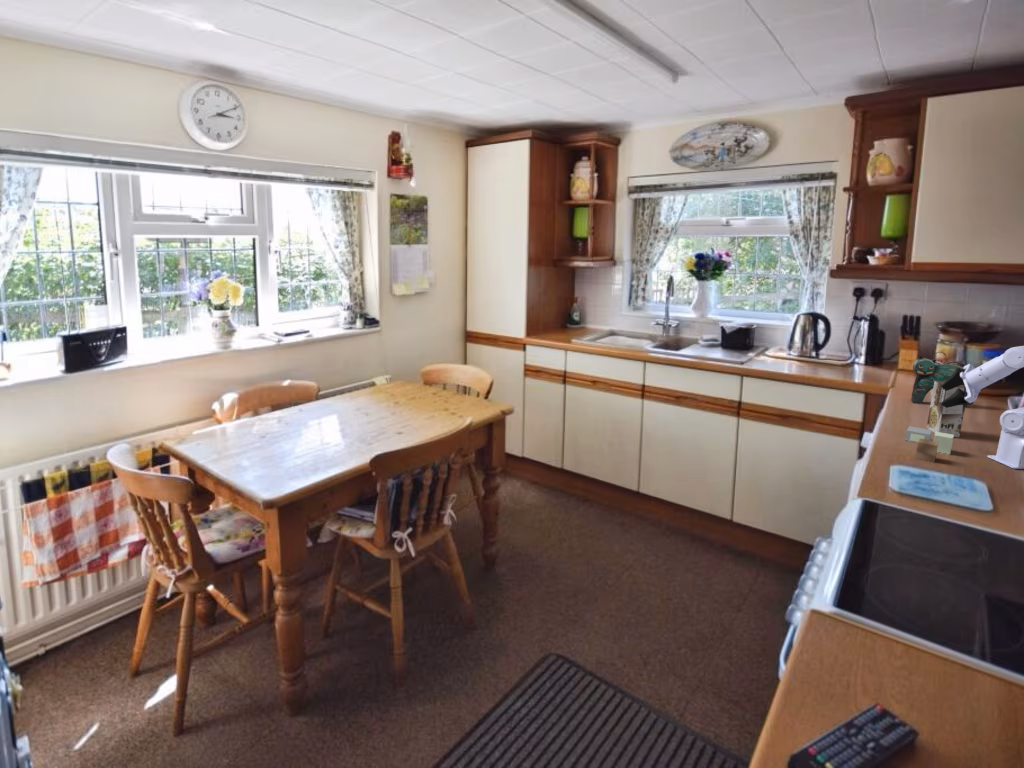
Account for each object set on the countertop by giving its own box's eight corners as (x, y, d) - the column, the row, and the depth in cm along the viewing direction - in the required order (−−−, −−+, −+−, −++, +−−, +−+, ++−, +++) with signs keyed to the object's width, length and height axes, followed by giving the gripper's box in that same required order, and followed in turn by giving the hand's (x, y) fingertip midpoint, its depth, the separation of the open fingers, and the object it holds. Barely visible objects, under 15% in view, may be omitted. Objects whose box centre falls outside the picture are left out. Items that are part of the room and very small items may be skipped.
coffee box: (960, 437, 198) (970, 387, 195) (937, 436, 200) (946, 386, 196) (947, 429, 207) (956, 381, 203) (925, 427, 208) (934, 379, 205)
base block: (930, 441, 195) (932, 430, 195) (927, 445, 191) (929, 434, 190) (907, 436, 199) (909, 426, 198) (904, 441, 194) (906, 430, 193)
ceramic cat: (909, 403, 239) (918, 351, 234) (904, 399, 245) (913, 348, 240) (970, 408, 233) (981, 355, 229) (964, 404, 239) (974, 352, 235)
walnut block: (935, 458, 179) (938, 441, 178) (934, 462, 176) (937, 445, 174) (916, 455, 182) (919, 438, 181) (915, 459, 178) (918, 442, 177)
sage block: (950, 450, 186) (953, 434, 185) (949, 454, 182) (953, 438, 181) (932, 447, 189) (935, 431, 187) (931, 451, 185) (934, 435, 184)
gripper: (975, 349, 184) (933, 373, 195) (977, 382, 175) (933, 405, 186) (994, 363, 185) (951, 386, 195) (997, 397, 176) (952, 419, 186)
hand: (943, 396), depth 191 cm, fingers open, 7 cm apart
